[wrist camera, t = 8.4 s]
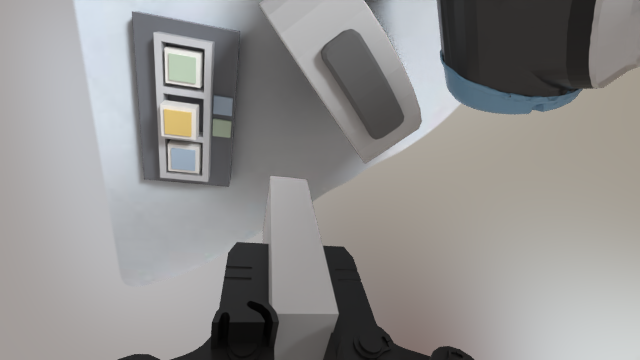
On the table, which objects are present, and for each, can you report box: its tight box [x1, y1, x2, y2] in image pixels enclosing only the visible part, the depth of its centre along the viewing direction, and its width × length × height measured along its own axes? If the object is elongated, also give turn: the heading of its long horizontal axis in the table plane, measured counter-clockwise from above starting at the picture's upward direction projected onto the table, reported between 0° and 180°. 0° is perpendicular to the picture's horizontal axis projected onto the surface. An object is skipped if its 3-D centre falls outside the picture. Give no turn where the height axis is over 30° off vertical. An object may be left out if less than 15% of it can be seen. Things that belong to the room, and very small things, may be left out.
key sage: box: [164, 46, 204, 88], centre depth 38 cm, size 4×4×2 cm
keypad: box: [132, 12, 240, 187], centre depth 42 cm, size 22×12×4 cm, turn 169°
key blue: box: [168, 139, 202, 173], centre depth 43 cm, size 4×4×2 cm
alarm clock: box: [259, 0, 422, 163], centre depth 35 cm, size 21×8×20 cm, turn 33°
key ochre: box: [160, 100, 199, 140], centre depth 38 cm, size 4×4×2 cm
